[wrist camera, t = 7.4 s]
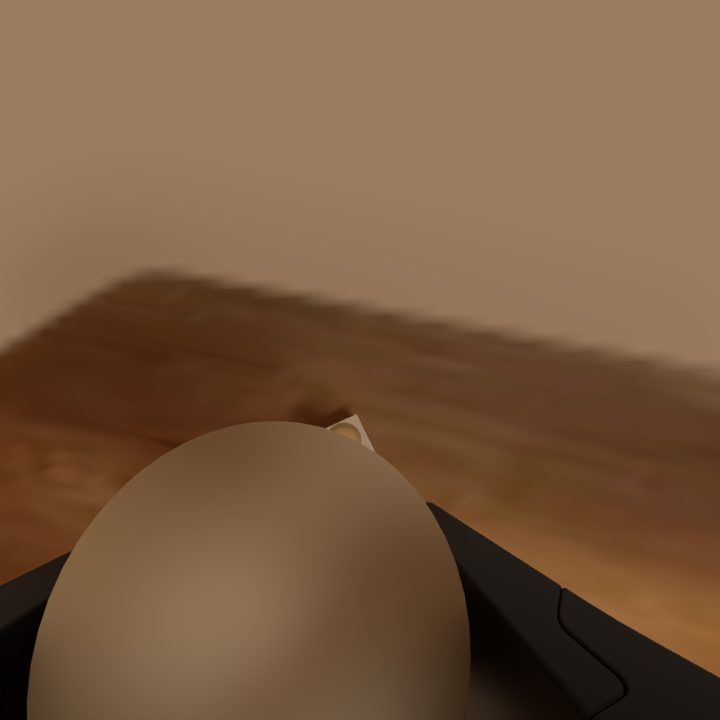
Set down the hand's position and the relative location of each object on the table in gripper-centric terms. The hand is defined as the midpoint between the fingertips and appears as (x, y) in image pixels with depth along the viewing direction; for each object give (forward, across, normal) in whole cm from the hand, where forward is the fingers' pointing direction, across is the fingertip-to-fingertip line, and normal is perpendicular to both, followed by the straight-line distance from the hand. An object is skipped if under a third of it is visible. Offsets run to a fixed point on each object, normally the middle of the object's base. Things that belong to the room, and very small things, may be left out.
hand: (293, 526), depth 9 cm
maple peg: (+4, 0, -5) cm, 7 cm away
